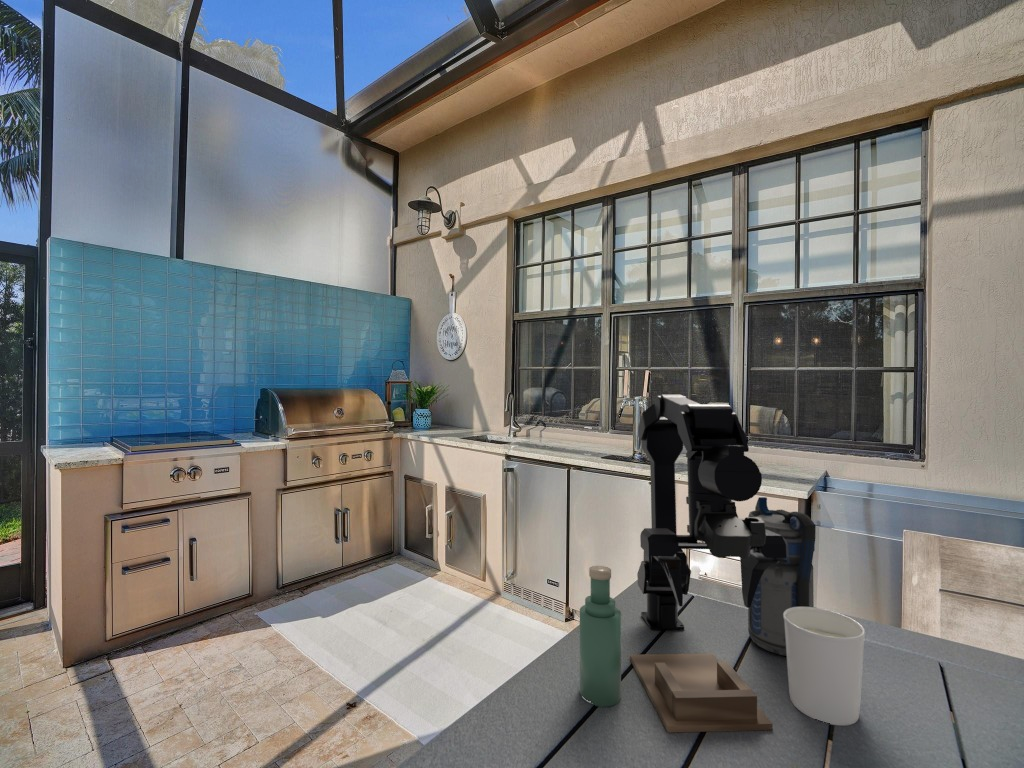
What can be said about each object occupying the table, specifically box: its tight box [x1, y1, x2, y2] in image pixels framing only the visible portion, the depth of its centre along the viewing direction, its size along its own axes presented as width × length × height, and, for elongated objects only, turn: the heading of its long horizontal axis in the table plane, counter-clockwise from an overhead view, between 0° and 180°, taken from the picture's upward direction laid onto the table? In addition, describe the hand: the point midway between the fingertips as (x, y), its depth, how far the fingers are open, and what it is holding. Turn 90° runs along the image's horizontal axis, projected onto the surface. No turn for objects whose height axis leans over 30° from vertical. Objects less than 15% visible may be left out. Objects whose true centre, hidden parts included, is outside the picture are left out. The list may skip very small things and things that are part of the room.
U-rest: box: [629, 652, 773, 733], centre depth 73 cm, size 18×14×4 cm
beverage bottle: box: [747, 496, 816, 657], centre depth 86 cm, size 10×13×25 cm
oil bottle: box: [579, 565, 622, 708], centre depth 72 cm, size 6×6×18 cm
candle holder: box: [783, 607, 866, 727], centre depth 69 cm, size 10×10×12 cm
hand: (713, 606), depth 68 cm, fingers open, 9 cm apart
